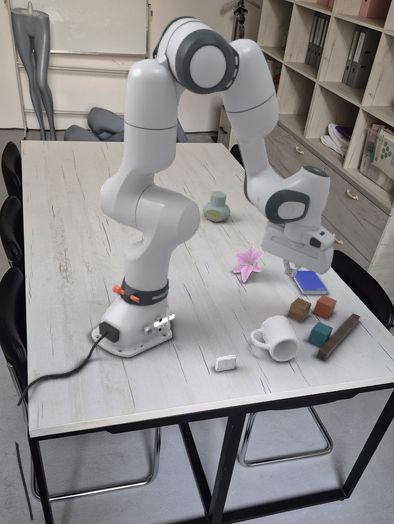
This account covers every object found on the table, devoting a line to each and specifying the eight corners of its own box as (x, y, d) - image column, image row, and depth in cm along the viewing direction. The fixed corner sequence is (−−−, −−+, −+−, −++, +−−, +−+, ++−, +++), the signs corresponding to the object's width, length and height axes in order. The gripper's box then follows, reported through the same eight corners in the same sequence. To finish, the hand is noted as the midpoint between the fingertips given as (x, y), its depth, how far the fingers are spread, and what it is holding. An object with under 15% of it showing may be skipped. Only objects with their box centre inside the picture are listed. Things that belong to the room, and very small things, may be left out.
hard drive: (328, 290, 156) (314, 270, 165) (304, 290, 154) (291, 270, 164) (326, 294, 157) (313, 274, 166) (302, 294, 155) (290, 274, 165)
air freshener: (199, 219, 191) (202, 194, 184) (205, 211, 197) (208, 187, 191) (226, 225, 189) (230, 200, 183) (231, 217, 195) (235, 193, 189)
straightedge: (324, 361, 130) (326, 354, 129) (316, 357, 131) (318, 350, 130) (358, 322, 146) (360, 316, 145) (350, 319, 147) (353, 312, 146)
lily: (231, 265, 167) (226, 247, 159) (265, 255, 166) (261, 236, 158) (238, 292, 161) (233, 275, 153) (273, 282, 160) (269, 264, 151)
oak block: (301, 322, 143) (304, 309, 141) (287, 315, 145) (291, 303, 142) (308, 315, 146) (311, 303, 143) (294, 309, 148) (298, 297, 145)
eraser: (234, 368, 124) (236, 357, 122) (216, 371, 123) (218, 360, 120) (232, 365, 125) (234, 354, 123) (214, 368, 124) (216, 357, 121)
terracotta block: (326, 319, 146) (330, 306, 143) (313, 312, 148) (316, 300, 145) (332, 312, 149) (336, 300, 146) (319, 306, 151) (323, 294, 148)
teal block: (322, 348, 135) (327, 335, 132) (307, 341, 136) (311, 328, 133) (328, 340, 138) (333, 327, 135) (314, 334, 139) (318, 321, 137)
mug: (285, 338, 137) (291, 314, 131) (296, 361, 129) (303, 337, 124) (244, 339, 134) (248, 315, 129) (253, 363, 127) (258, 339, 122)
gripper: (261, 220, 132) (253, 265, 140) (330, 247, 123) (316, 293, 132) (273, 213, 136) (264, 257, 144) (340, 239, 127) (326, 284, 136)
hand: (289, 275), depth 138 cm, fingers closed
